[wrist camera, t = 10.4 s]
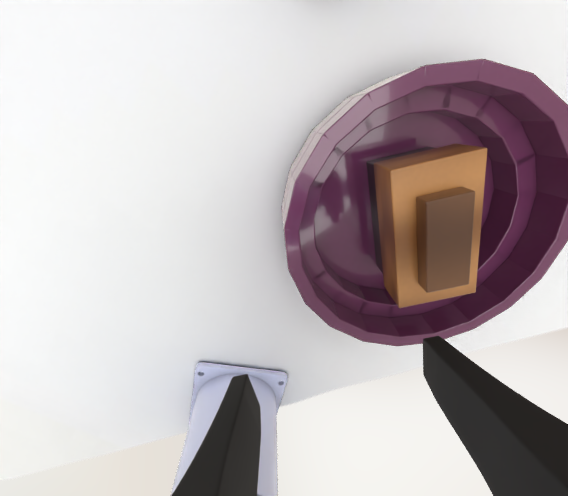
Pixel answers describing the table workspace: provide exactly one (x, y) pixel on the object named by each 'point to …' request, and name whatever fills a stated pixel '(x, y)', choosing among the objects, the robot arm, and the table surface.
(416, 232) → the scrub brush
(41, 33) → the table surface
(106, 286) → the table surface
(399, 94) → the bowl
